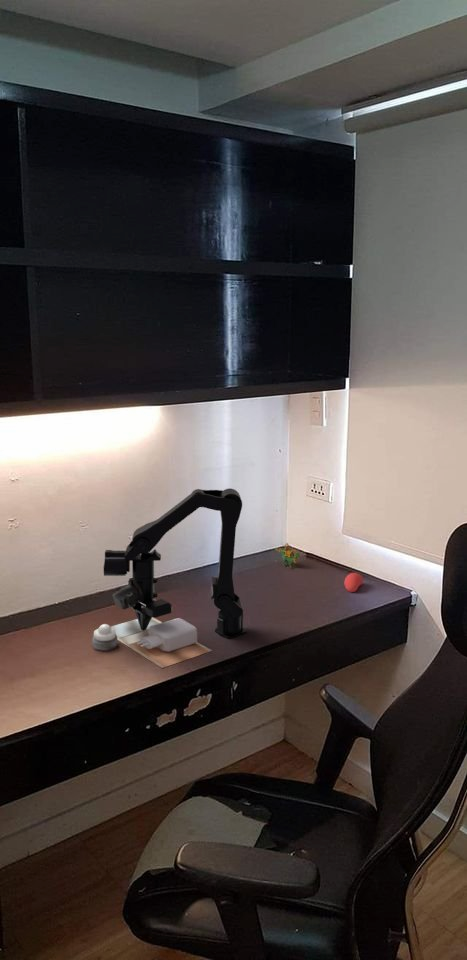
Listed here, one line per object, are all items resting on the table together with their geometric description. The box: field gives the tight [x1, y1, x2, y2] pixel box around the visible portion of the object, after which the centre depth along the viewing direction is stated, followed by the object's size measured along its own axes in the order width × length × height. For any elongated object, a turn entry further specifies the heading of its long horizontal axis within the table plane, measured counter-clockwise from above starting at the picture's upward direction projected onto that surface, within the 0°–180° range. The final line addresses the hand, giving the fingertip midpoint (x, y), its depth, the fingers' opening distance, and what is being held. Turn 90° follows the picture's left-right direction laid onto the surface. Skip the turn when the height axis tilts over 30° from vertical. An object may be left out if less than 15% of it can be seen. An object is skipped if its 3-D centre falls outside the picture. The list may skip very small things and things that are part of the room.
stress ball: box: [344, 572, 364, 593], centre depth 238 cm, size 5×9×6 cm, turn 143°
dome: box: [93, 623, 116, 641], centre depth 195 cm, size 6×6×3 cm
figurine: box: [274, 543, 301, 570], centre depth 258 cm, size 3×12×8 cm, turn 42°
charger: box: [137, 617, 198, 652], centre depth 195 cm, size 5×9×15 cm
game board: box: [92, 617, 213, 669], centre depth 197 cm, size 23×29×2 cm
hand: (143, 629), depth 203 cm, fingers closed
